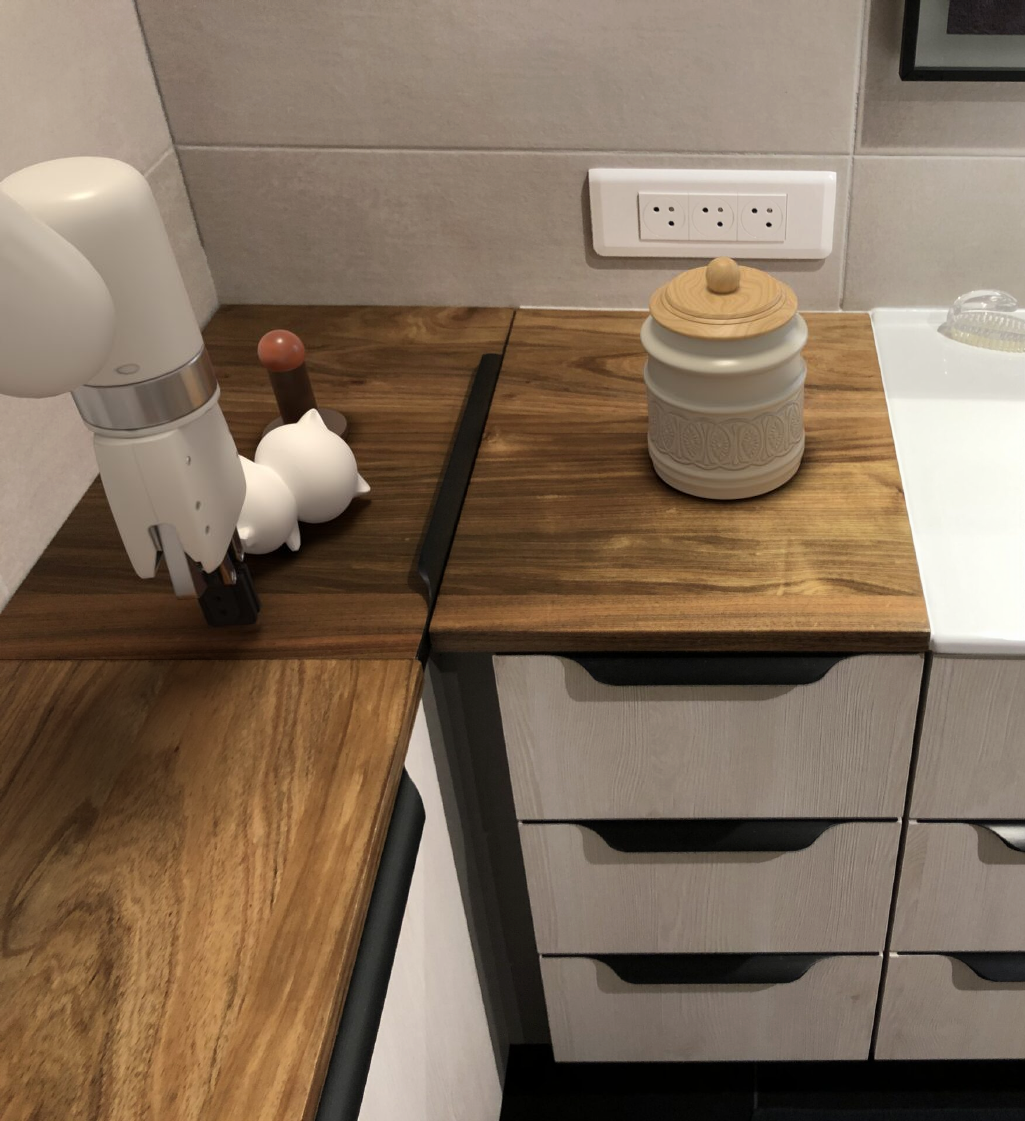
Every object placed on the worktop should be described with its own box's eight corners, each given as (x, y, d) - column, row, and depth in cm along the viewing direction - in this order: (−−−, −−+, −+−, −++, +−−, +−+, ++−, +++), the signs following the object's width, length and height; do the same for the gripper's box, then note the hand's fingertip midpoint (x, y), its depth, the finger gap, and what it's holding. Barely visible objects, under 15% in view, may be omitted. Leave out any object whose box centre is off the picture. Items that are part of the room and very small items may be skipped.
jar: (776, 517, 88) (779, 309, 77) (624, 486, 91) (605, 283, 80) (822, 431, 97) (831, 236, 86) (683, 406, 101) (673, 215, 90)
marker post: (283, 469, 93) (248, 362, 87) (251, 434, 98) (216, 329, 91) (362, 439, 97) (334, 334, 91) (328, 407, 101) (300, 304, 95)
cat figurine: (197, 470, 77) (332, 388, 84) (146, 496, 84) (275, 418, 92) (275, 575, 79) (400, 486, 87) (220, 591, 87) (339, 508, 94)
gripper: (115, 327, 71) (204, 555, 82) (30, 459, 59) (148, 702, 71) (238, 319, 72) (310, 546, 83) (179, 447, 60) (272, 690, 72)
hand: (235, 617), depth 77 cm, fingers closed
